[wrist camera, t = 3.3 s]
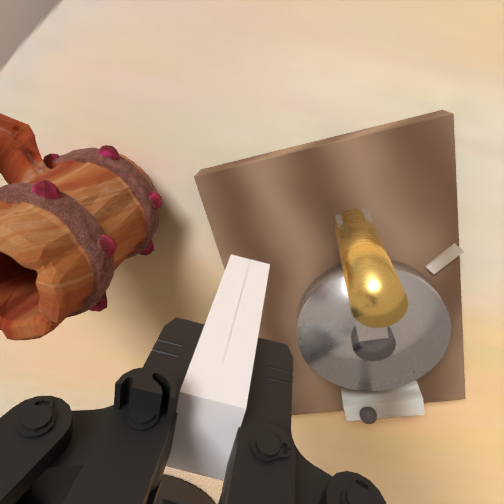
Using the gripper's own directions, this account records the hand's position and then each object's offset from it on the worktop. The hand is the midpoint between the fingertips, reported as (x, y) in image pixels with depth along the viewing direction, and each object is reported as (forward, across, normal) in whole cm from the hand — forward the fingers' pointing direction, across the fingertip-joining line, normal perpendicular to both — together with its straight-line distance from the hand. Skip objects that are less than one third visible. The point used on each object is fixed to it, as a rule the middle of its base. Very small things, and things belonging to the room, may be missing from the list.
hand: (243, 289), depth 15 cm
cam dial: (+13, +9, -6) cm, 17 cm away
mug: (+15, -13, -3) cm, 21 cm away
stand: (+15, +8, -7) cm, 19 cm away
